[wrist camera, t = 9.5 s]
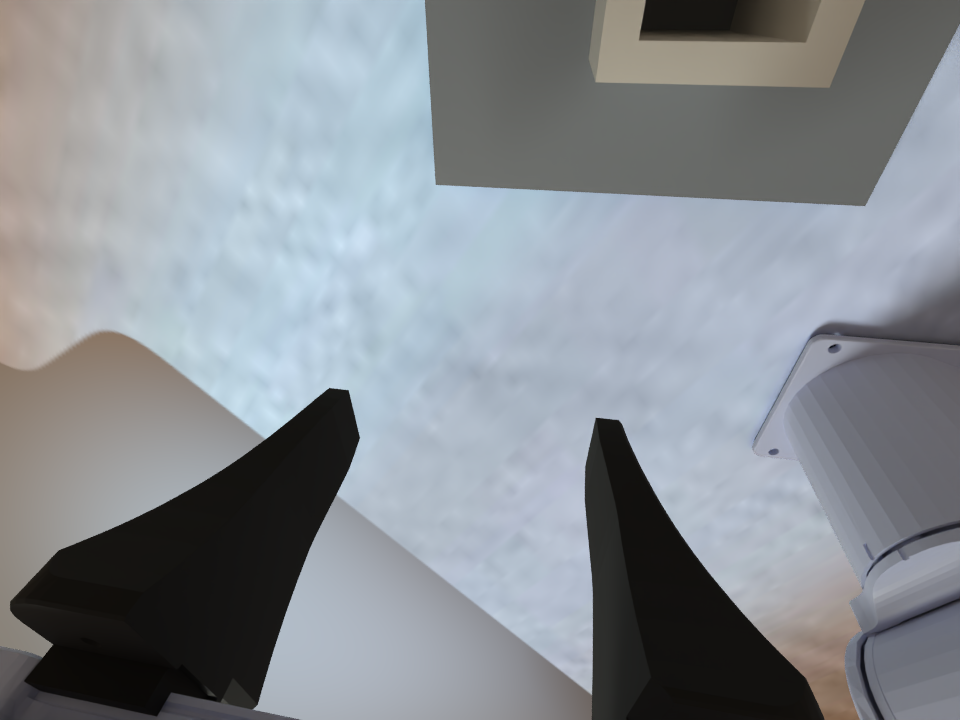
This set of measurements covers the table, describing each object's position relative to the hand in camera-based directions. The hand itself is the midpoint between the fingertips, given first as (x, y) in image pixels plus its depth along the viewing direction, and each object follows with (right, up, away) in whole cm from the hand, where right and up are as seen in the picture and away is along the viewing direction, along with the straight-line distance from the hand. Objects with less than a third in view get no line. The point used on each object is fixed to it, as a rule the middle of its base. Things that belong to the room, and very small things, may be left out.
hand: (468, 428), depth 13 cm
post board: (+7, +15, +1) cm, 16 cm away
